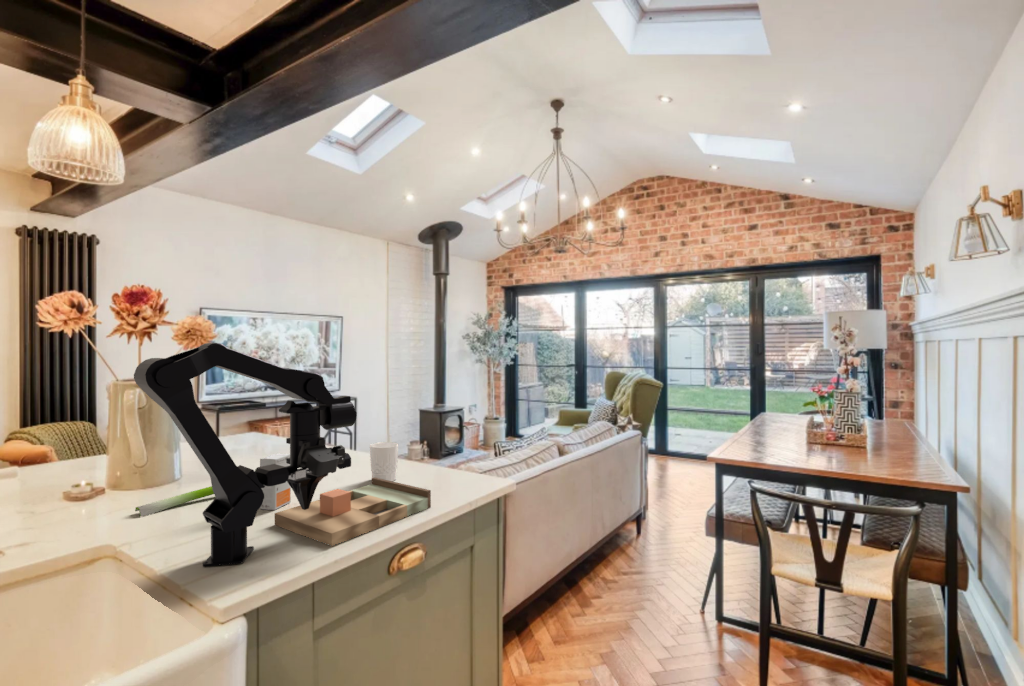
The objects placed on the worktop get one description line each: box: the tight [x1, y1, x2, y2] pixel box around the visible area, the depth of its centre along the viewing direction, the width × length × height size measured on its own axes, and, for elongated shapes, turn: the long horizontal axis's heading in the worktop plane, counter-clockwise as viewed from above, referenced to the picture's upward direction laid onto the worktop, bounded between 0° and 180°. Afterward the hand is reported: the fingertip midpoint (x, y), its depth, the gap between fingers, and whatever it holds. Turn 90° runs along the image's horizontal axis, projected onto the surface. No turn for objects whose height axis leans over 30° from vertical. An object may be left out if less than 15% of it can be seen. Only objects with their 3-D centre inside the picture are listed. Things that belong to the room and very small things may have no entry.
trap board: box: [274, 477, 432, 547], centre depth 111 cm, size 27×20×4 cm
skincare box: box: [259, 452, 292, 511], centre depth 118 cm, size 6×4×12 cm
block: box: [319, 488, 351, 517], centre depth 106 cm, size 4×4×4 cm
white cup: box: [369, 441, 399, 482], centre depth 140 cm, size 8×8×10 cm
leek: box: [134, 467, 257, 517], centre depth 123 cm, size 6×7×30 cm
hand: (305, 509), depth 100 cm, fingers closed
